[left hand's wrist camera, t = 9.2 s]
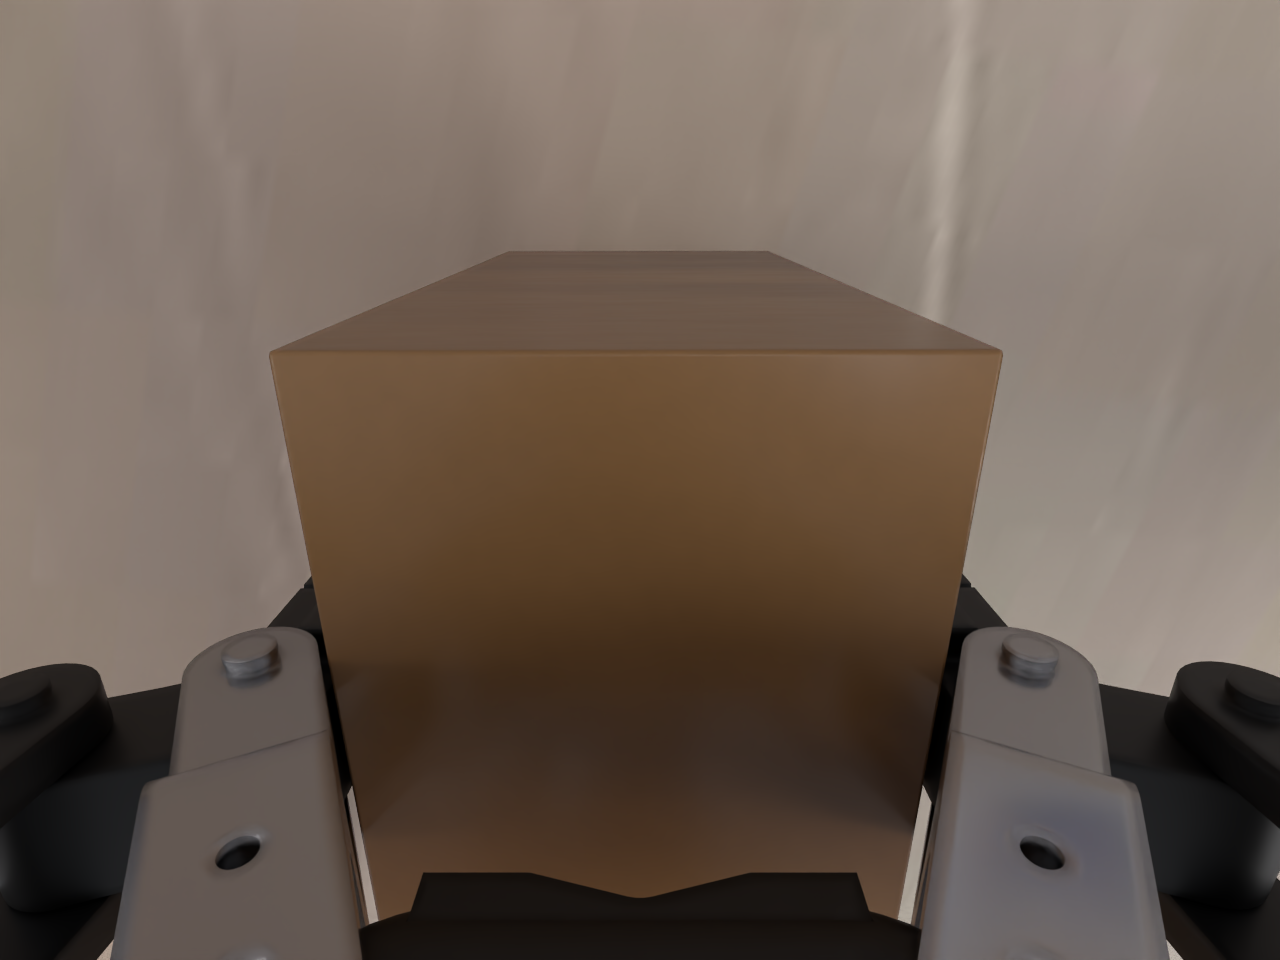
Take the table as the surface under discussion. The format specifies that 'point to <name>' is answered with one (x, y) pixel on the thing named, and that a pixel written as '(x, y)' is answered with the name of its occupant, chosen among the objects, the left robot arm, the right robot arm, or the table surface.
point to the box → (636, 566)
